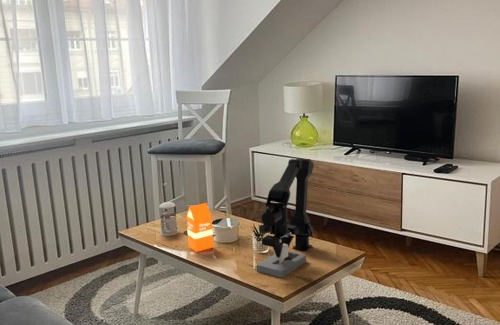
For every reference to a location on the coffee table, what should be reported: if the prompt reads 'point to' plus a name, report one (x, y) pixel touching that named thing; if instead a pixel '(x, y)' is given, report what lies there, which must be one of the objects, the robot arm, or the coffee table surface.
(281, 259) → the keyhole peg
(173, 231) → the french press
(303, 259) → the keyhole board
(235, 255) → the coffee table surface
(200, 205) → the orange juice
